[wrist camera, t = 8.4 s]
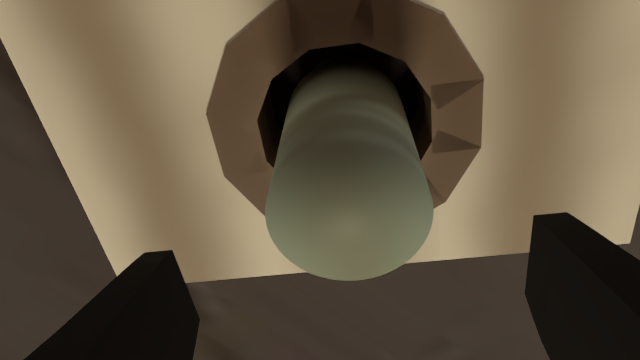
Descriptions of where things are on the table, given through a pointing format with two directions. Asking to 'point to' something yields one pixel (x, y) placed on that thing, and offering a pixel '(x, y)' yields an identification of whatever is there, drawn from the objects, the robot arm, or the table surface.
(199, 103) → the socket board
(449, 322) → the table surface
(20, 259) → the table surface
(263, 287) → the table surface
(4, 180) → the table surface
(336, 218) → the green peg
